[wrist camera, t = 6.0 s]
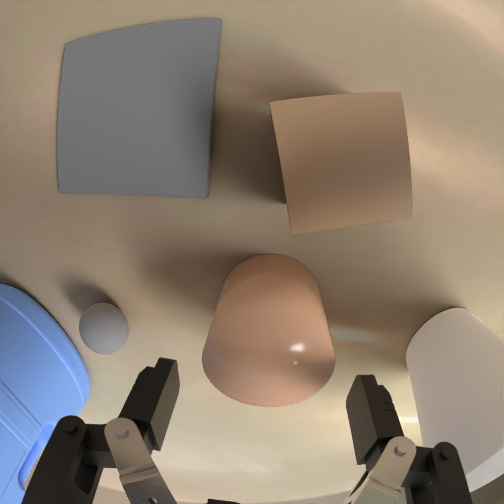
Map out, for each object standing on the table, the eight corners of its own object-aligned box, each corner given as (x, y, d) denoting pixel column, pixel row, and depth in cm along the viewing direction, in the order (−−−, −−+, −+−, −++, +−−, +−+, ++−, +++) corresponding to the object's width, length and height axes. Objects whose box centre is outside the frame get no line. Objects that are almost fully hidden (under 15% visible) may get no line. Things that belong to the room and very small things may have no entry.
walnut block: (270, 112, 14) (269, 101, 9) (363, 102, 13) (400, 92, 9) (286, 204, 16) (291, 234, 11) (374, 192, 15) (412, 218, 10)
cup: (384, 320, 18) (448, 475, 7) (487, 274, 16) (584, 379, 5) (394, 394, 21) (428, 512, 10) (479, 355, 19) (535, 451, 8)
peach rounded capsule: (224, 248, 17) (200, 306, 11) (327, 259, 17) (350, 320, 11) (221, 331, 19) (203, 399, 14) (309, 339, 19) (318, 409, 14)
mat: (71, 45, 12) (65, 43, 12) (222, 21, 12) (220, 17, 11) (64, 190, 16) (59, 193, 16) (208, 196, 16) (206, 198, 15)
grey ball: (90, 289, 19) (64, 316, 16) (132, 297, 19) (109, 328, 15) (99, 328, 20) (77, 357, 17) (139, 337, 20) (120, 370, 17)
